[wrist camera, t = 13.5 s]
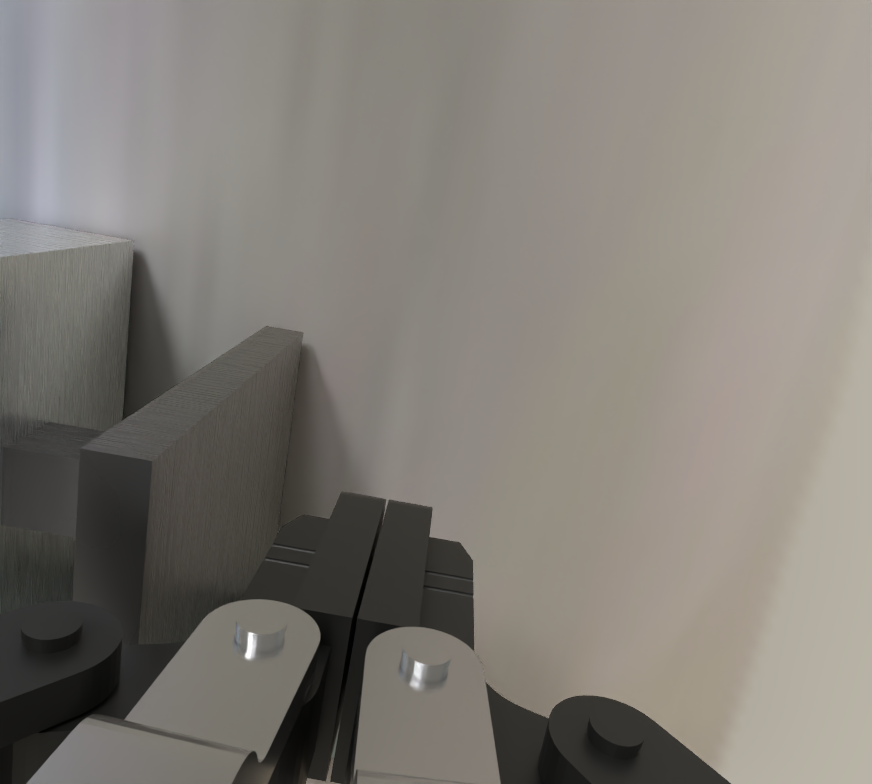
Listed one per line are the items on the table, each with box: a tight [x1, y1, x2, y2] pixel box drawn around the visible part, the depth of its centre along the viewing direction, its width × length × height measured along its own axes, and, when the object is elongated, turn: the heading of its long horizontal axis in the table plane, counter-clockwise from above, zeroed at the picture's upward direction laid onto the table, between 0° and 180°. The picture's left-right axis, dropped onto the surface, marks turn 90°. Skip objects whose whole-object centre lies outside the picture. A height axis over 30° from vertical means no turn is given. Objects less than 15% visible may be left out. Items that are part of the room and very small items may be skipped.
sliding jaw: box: [0, 219, 303, 645], centre depth 13 cm, size 8×7×8 cm
